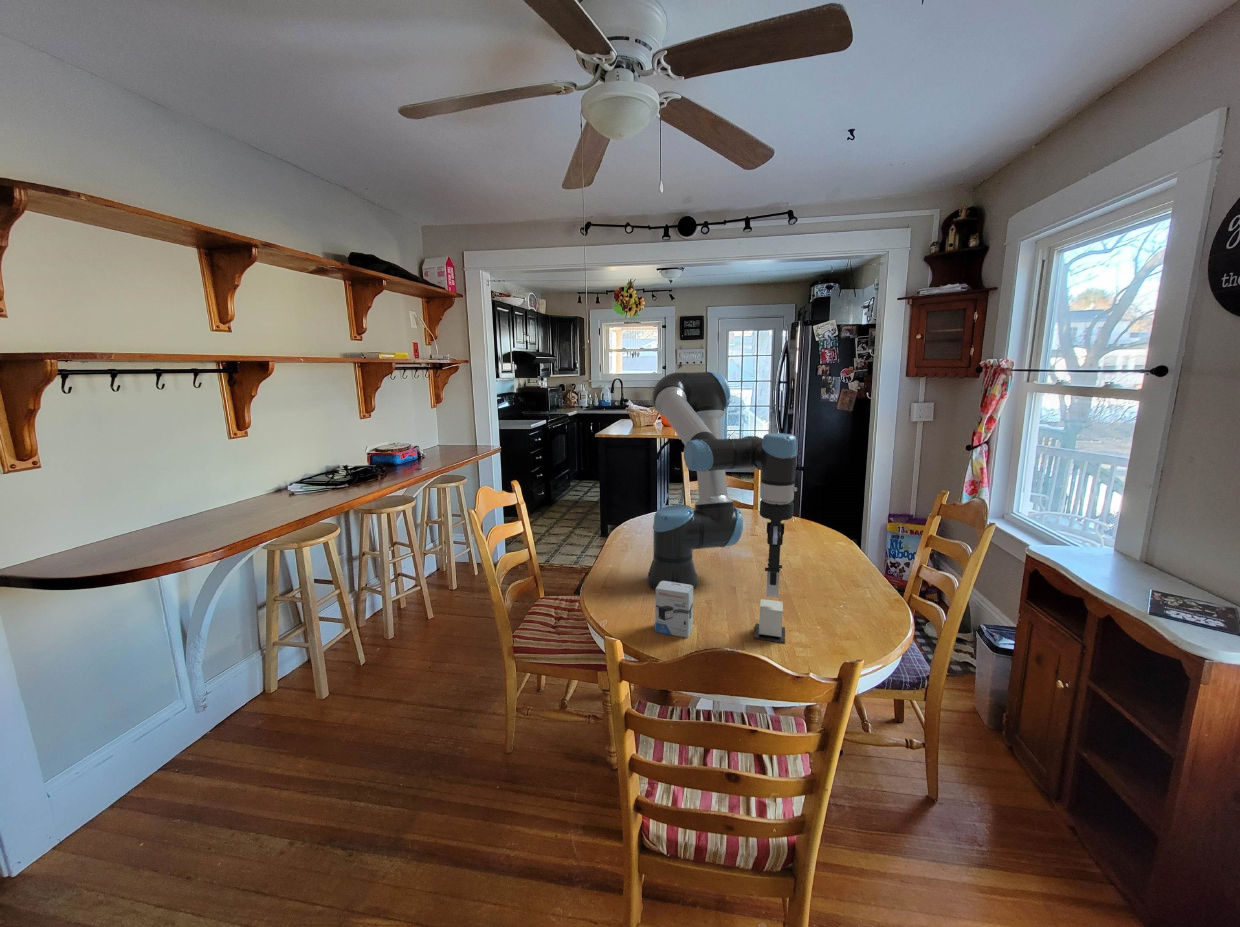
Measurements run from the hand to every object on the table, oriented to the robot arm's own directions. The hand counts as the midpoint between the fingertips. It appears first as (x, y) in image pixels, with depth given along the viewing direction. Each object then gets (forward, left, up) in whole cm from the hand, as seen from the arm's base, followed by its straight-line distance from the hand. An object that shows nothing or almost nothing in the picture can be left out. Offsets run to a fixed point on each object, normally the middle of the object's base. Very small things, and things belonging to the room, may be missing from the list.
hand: (772, 595), depth 123 cm
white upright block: (0, 0, -9) cm, 9 cm away
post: (0, 0, -10) cm, 10 cm away
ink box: (-18, -15, -10) cm, 26 cm away
